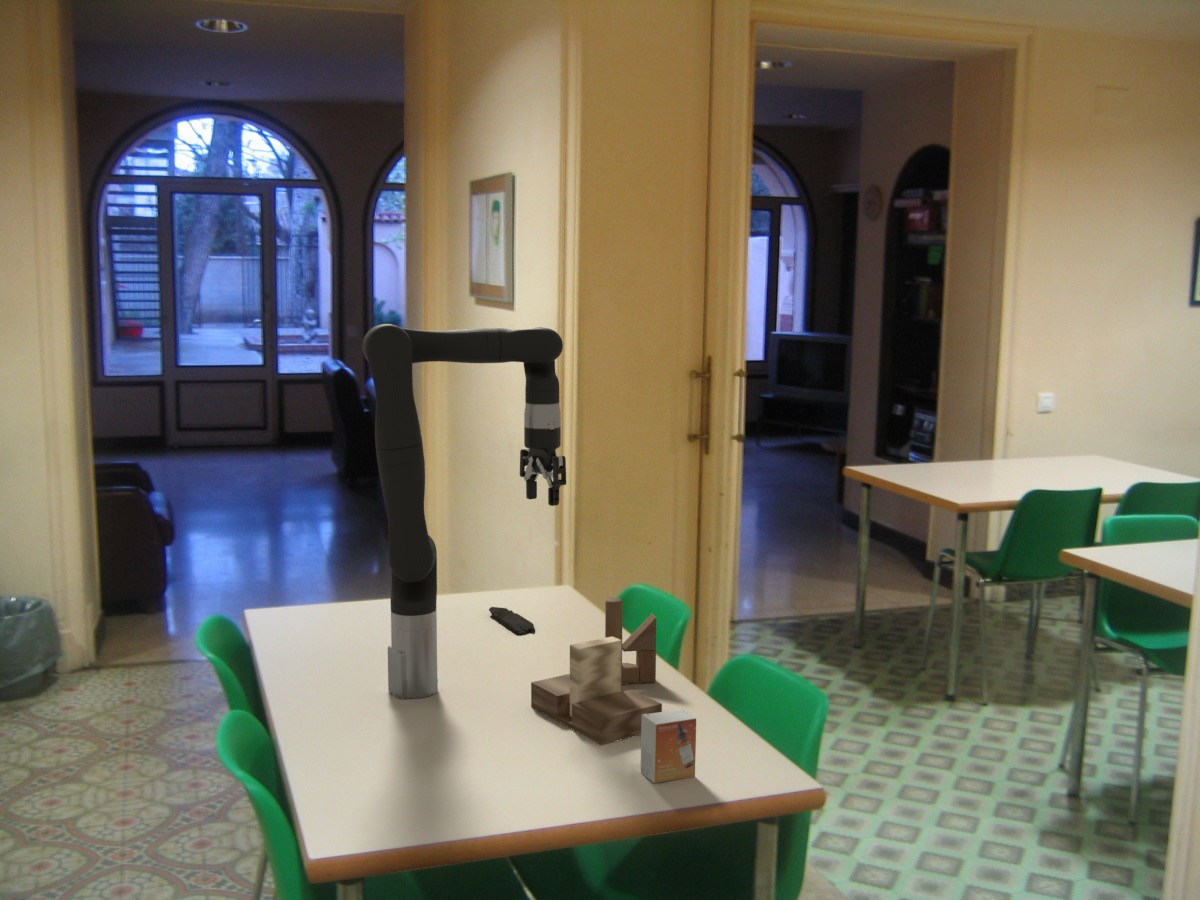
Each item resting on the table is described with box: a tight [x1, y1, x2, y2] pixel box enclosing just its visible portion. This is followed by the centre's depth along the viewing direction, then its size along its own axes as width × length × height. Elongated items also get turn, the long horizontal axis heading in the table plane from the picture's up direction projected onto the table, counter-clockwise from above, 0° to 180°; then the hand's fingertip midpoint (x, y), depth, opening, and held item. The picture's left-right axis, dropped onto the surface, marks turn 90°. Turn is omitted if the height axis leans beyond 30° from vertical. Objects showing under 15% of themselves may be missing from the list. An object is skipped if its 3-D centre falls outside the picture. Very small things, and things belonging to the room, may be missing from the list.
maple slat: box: [569, 636, 622, 717], centre depth 228 cm, size 10×3×14 cm, turn 125°
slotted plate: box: [530, 673, 663, 746], centre depth 229 cm, size 14×24×5 cm, turn 35°
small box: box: [640, 708, 697, 784], centre depth 202 cm, size 8×6×10 cm
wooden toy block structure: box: [604, 597, 657, 685], centre depth 249 cm, size 4×11×18 cm, turn 102°
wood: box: [488, 606, 536, 637], centre depth 293 cm, size 22×7×3 cm, turn 27°
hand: (542, 502), depth 247 cm, fingers open, 8 cm apart
